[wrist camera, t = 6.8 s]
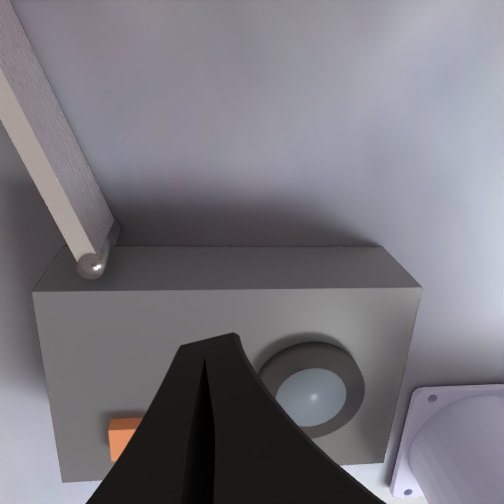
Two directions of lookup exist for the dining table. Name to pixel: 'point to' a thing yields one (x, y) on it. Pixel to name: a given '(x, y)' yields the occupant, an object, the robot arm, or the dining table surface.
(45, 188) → the side door
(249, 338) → the camera case
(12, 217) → the dining table surface
